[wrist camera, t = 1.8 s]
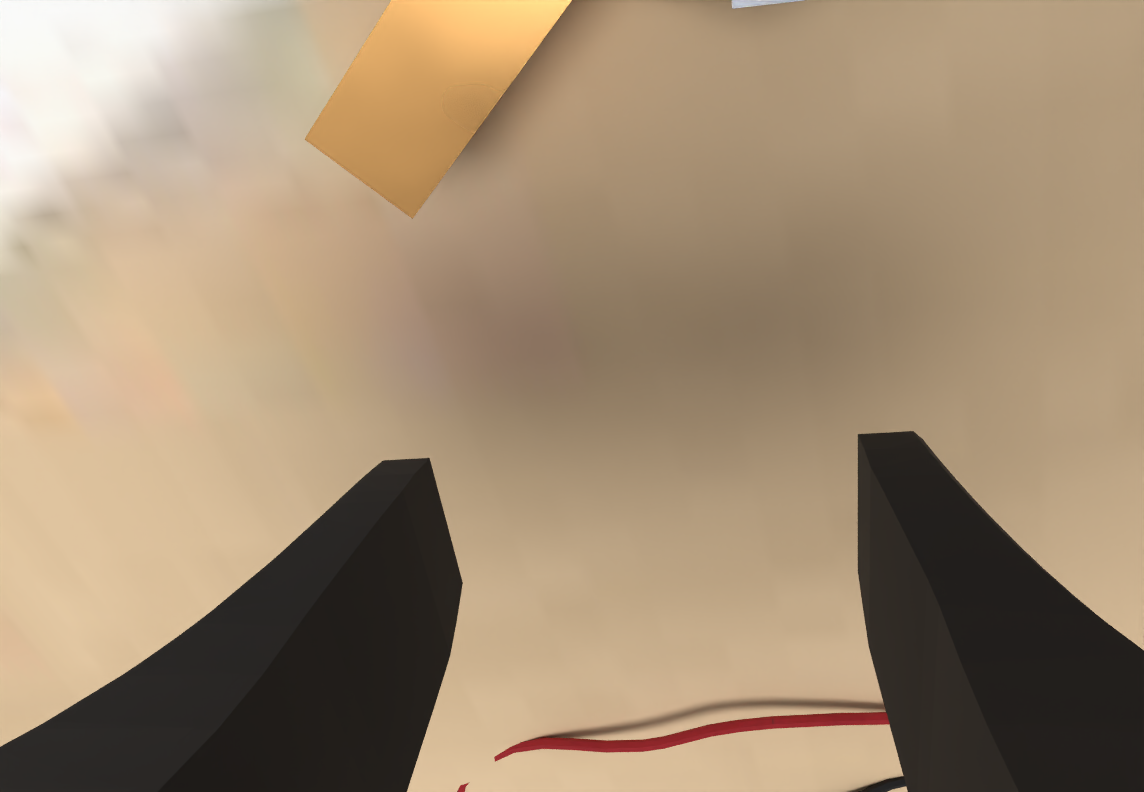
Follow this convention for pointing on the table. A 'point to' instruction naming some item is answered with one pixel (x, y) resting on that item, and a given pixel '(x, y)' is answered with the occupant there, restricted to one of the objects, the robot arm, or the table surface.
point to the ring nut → (430, 88)
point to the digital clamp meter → (710, 730)
